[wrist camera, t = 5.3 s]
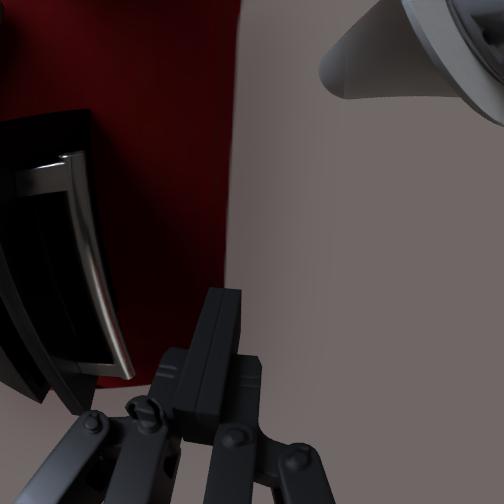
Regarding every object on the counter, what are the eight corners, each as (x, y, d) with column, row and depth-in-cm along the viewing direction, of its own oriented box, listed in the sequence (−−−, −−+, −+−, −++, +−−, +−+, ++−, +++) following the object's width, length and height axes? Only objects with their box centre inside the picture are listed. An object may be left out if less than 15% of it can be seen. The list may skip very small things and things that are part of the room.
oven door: (136, 101, 19) (51, 102, 7) (156, 306, 29) (140, 423, 17) (73, 111, 18) (-40, 135, 6) (105, 306, 28) (72, 414, 16)
